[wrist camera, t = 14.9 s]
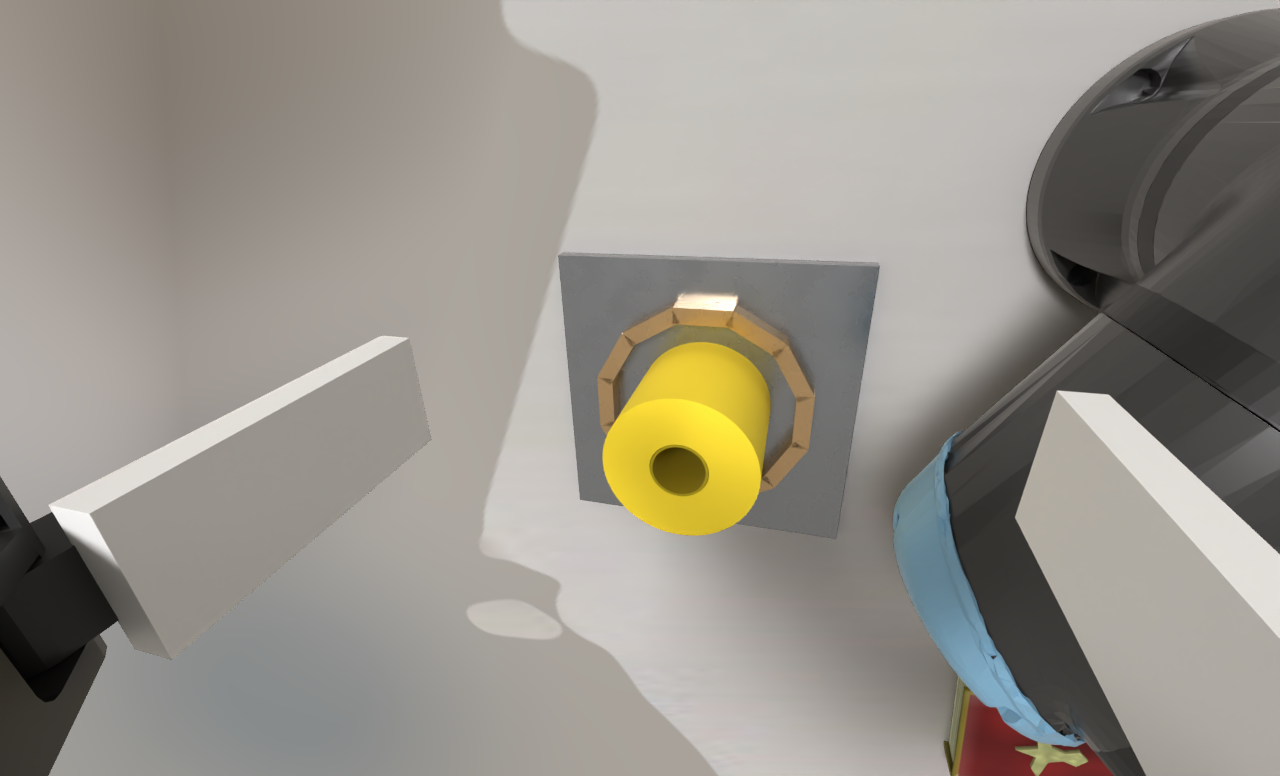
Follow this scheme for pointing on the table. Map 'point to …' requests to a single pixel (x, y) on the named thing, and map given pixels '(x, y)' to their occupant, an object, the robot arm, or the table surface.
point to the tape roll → (691, 441)
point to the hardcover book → (1007, 746)
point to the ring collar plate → (743, 321)
